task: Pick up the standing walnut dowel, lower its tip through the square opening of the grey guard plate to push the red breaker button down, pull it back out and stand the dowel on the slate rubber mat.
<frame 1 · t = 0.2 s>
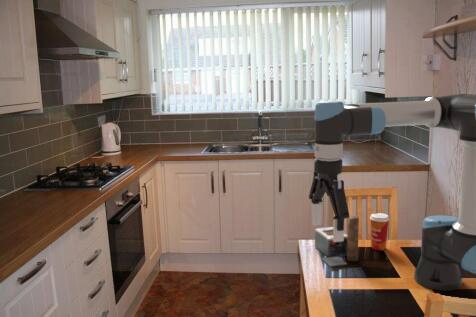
hand: (327, 232, 123), 28 cm above the table, fingers open, 13 cm apart
breaker button: (331, 240, 180), point 4 cm above the table, slide at 0.0 cm
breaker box: (331, 250, 181), on the table
stylus: (352, 259, 172), on the table
mat: (334, 262, 170), on the table
paper cup: (378, 248, 183), on the table
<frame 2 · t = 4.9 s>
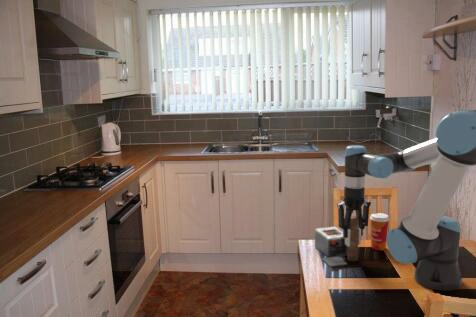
hand: (352, 244, 171), 6 cm above the table, fingers closed on stylus, 4 cm apart
stylus: (352, 259, 172), on the table, touching gripper
everything else where it was.
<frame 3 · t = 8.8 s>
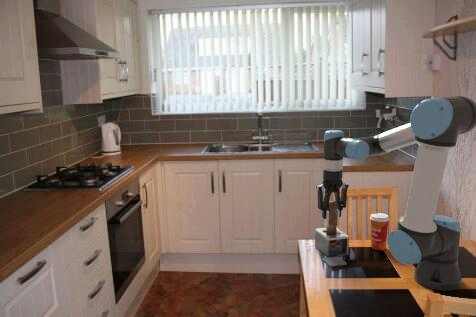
hand: (331, 225, 179), 11 cm above the table, fingers closed on stylus, 4 cm apart
breaker button: (331, 245, 180), point 2 cm above the table, slide at 2.0 cm, touching stylus
stylus: (331, 241, 180), point 4 cm above the table, touching breaker button, gripper
everything else where it was.
when the fingers open (8 cm above the table, at t = 14.0 s): stylus stays where it is, resting on mat.
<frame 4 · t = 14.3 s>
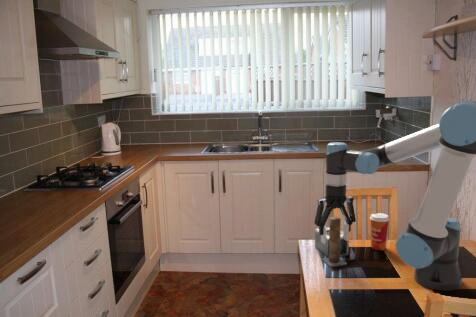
hand: (334, 241, 168), 9 cm above the table, fingers open, 9 cm apart
breaker button: (331, 244, 180), point 3 cm above the table, slide at 1.9 cm
stylus: (334, 260, 170), point 1 cm above the table, touching mat
everything else where it was.
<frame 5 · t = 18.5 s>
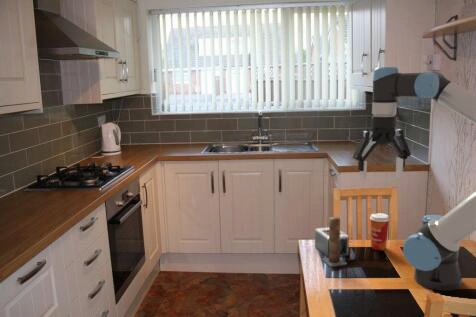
hand: (381, 178, 147), 37 cm above the table, fingers open, 13 cm apart
nothing on the table moved.
at the end: breaker button slide at 1.9 cm; stylus inside the target area on the mat (0.1 cm from its centre), point 0.6 cm above the mat's base; stylus tilted 1° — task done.
